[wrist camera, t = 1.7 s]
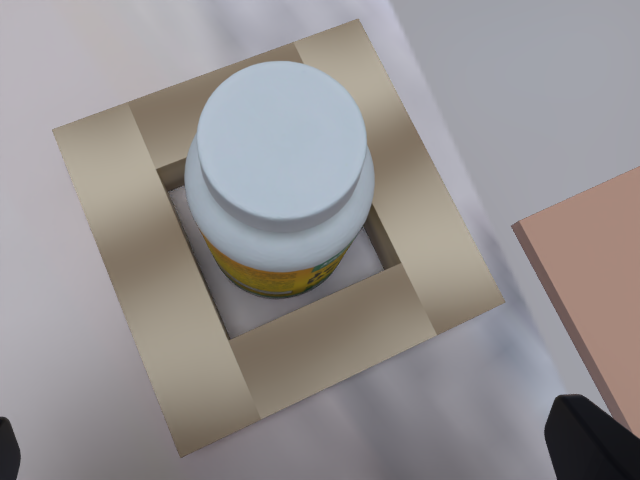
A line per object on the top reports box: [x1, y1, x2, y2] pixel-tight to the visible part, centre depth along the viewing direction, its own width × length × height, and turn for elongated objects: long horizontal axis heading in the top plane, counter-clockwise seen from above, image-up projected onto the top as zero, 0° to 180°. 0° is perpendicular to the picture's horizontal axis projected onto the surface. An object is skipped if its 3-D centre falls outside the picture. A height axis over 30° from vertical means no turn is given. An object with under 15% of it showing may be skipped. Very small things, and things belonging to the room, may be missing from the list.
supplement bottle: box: [184, 61, 375, 299], centre depth 18 cm, size 5×5×10 cm
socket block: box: [52, 19, 505, 458], centre depth 22 cm, size 12×12×2 cm
